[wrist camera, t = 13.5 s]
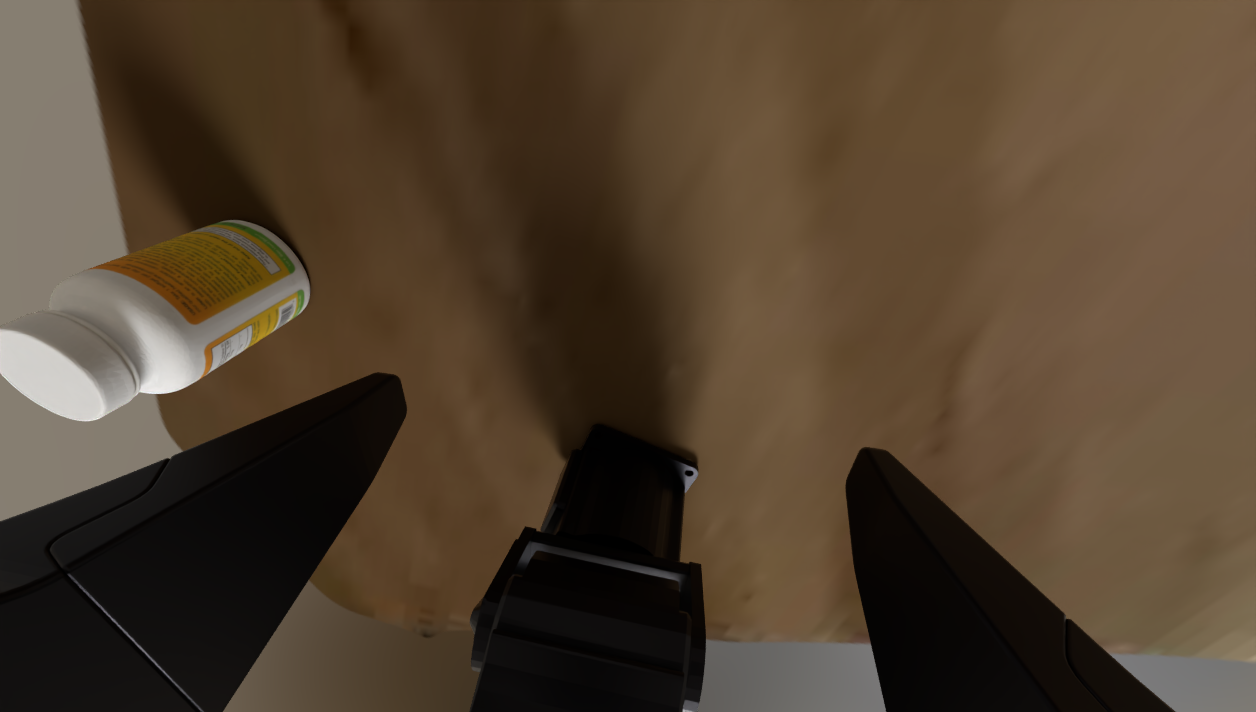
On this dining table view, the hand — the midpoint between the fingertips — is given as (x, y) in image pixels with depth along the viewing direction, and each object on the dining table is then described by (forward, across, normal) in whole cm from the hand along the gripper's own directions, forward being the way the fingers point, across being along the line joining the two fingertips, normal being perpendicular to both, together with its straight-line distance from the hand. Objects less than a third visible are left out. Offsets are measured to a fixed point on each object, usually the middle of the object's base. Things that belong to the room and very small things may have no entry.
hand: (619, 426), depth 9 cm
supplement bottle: (+13, +20, +5) cm, 25 cm away
